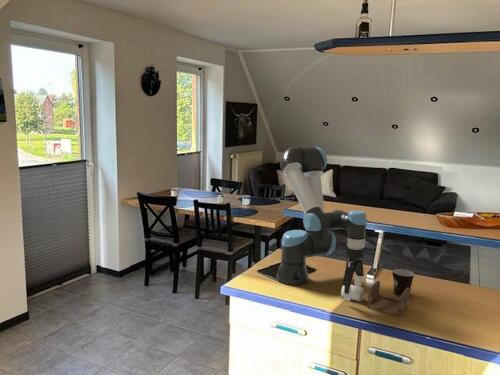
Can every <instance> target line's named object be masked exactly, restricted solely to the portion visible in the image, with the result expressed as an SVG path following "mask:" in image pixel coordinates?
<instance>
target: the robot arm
mask: <svg viewBox="0 0 500 375" xmlns="http://www.w3.org/2000/svg"><path fill="white" fill-rule="evenodd" d="M280 157H281V158H280V162H279V163H280V164H279V166H280V171H281V172H282V174H283V176H284V177H286V178H287V180H288V182H289V184H290V186H291V188H292V190H293V193H294V195H295V196H296V198H297V201H298V203H299V205H300V207H301V209H302V212H303V213H304V216H303V220H302V223H303V227H304V229H305V230H303V229H292V230H288V231H285V233H283V235H282V238H281V239H282V240H281V253H280V254H281V256H280V257H281V259H280V260H281V262H280V265H279V266H278V270H277V273H276V280H277V279H278V280H277V281H278V282H279V281H280V283H281V284H284V285H290V286H300V285H301V286H302V285H305V284H307V283H308V282H309V273H308V270H307V266H306V263H307V262H306V261H307V260H306V259H308V258H314V257H324V256H328V255H329V256H330V255H331V254H333V252H334V250H335V249H336V243H337V238H336V235H335V233H334V232H333V231H331V230H344V231H345V232H346V244H345V246H346V248H345V255H346V256H347V257H348V258H349V260H348V261H346V262H345V263H346V266H345V268H344V269H345V270H344V275H343V279H342V283H341V286H343V285H344V297H343V301H347V302H351V299H350V298H351V286H350V285H352V281H353V278H354V286H358V287H362V277H364V275H365V273H364V272H365V271H364V264H363V262H364V261H363V258H364V257H365V249H364V248H365V245H366V244H367V241H366V233H367V231H366V230H367V222H368V221H367V213H366V212H365V211H363V210H357V209H354V210H349V211H348V212H346V211H345V210H341V209H335V210H333V211H329V212H327V211H326V212H325V203H324V194H323V185H322V178H321V177H322V175H323V173H324V170H325V169H326V167H327V164H328V158H327V157H328V156H327V154H326V152H325V150H324V149H323V148H321V147H318V146H291V147H288V148H287V149H286V150H284V152H283V153H282V155H281V156H280ZM354 274H355V275H354Z"/></svg>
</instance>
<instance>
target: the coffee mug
mask: <svg viewBox="0 0 500 375" xmlns="http://www.w3.org/2000/svg"><path fill="white" fill-rule="evenodd" d="M414 275H415V273H414V272H413V271H411V270H408V269H403V268H400V269H399V268H398V269H394V270H392V277H393V293H394V294H395V296H398V297H400V296H401V294H402V293H403V292H404V290H405V289H406V287H407V288H409V294H410V293H411V289H412V284H413V279H414Z"/></svg>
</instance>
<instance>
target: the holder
mask: <svg viewBox="0 0 500 375" xmlns="http://www.w3.org/2000/svg"><path fill="white" fill-rule="evenodd" d="M380 286H381V281H380V280H376V282H374V284H372V286H371V287H370V288H369V289H368V297H367V299H368V300H367V309H371V310H375V311H378V312H382V313H386V314H389V315H393V316H396V317H399V318H400V317H402V316H403V314H404V312H405V311H406V309H407V308H408V306H409V296H410V293H409V288H407V287H406V289H405V290H404V292H403V293H402V294H401V296H399V298H396V297H391V296H387V295H384V294H380Z"/></svg>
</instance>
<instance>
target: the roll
mask: <svg viewBox="0 0 500 375" xmlns="http://www.w3.org/2000/svg"><path fill="white" fill-rule="evenodd" d="M350 286H351V298H350V300H352V301H356V302H362V301H363V299H364V292H365V288H364V287H362V286H361V287H358V286H355V284H354V285H353V284H351V285H350ZM340 295H341V297H342V298H344V285H341V292H340Z"/></svg>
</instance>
